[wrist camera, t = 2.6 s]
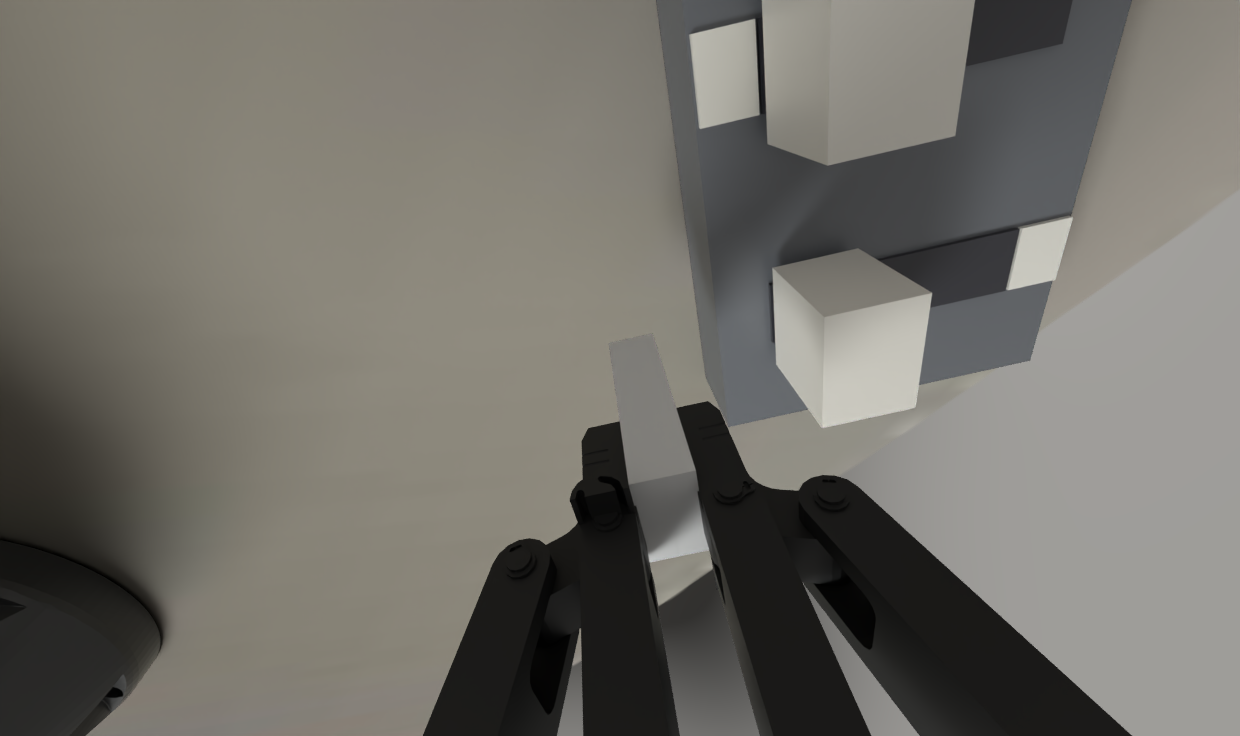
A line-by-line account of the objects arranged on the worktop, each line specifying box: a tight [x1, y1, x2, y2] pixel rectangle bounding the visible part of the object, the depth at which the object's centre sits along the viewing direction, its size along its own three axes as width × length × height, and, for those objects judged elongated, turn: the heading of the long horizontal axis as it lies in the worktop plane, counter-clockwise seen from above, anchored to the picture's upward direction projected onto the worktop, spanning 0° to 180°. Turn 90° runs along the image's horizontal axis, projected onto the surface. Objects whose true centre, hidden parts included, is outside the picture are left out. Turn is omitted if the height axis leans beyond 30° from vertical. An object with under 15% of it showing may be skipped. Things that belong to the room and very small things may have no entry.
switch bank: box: [656, 0, 1132, 427], centre depth 16 cm, size 13×26×4 cm, turn 12°
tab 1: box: [762, 0, 975, 166], centre depth 12 cm, size 3×4×4 cm
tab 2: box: [772, 248, 932, 428], centre depth 16 cm, size 3×4×4 cm
